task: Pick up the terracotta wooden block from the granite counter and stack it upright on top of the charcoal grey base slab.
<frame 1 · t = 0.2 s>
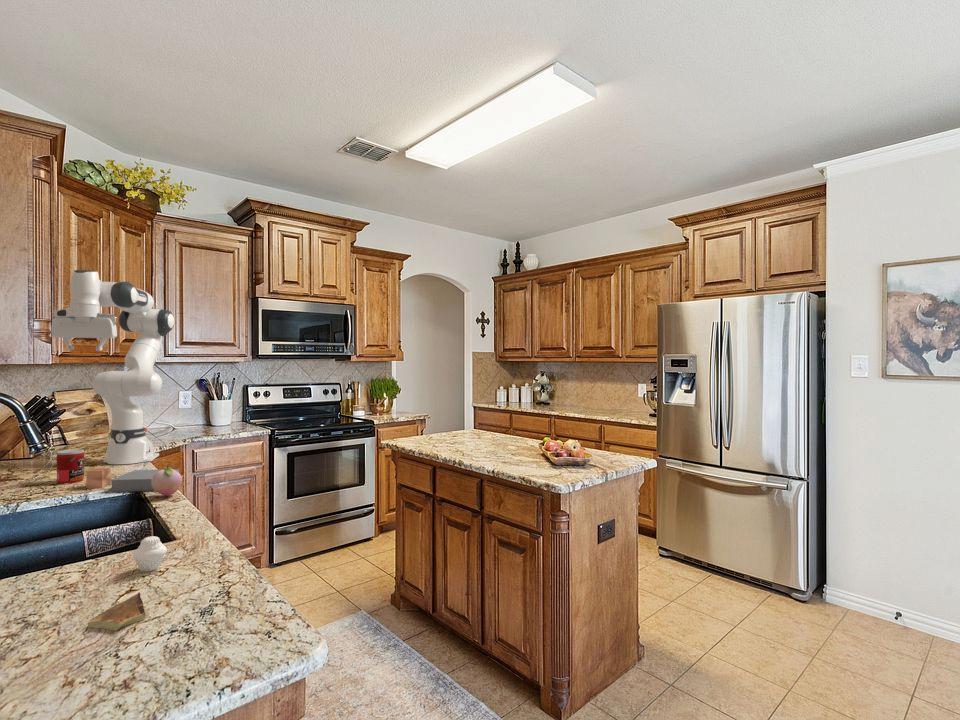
hand: (84, 350, 189), 47 cm above the counter, tool pointing down, fingers open, 8 cm apart
muffin: (150, 569, 110), on the counter
base slab: (147, 485, 180), on the counter
decorative fruit: (166, 497, 166), on the counter
shard: (116, 620, 90), on the counter
terracotta block: (98, 486, 178), on the counter
canned food: (70, 481, 185), on the counter
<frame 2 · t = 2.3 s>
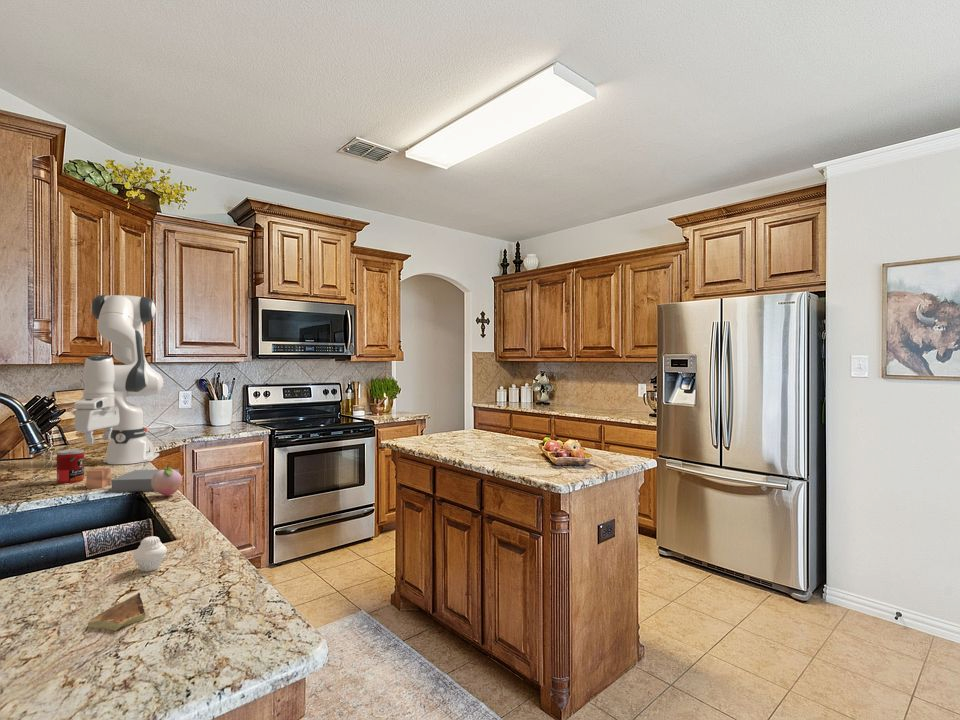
hand: (98, 441, 178), 16 cm above the counter, tool pointing down, fingers open, 8 cm apart
nothing on the counter moved.
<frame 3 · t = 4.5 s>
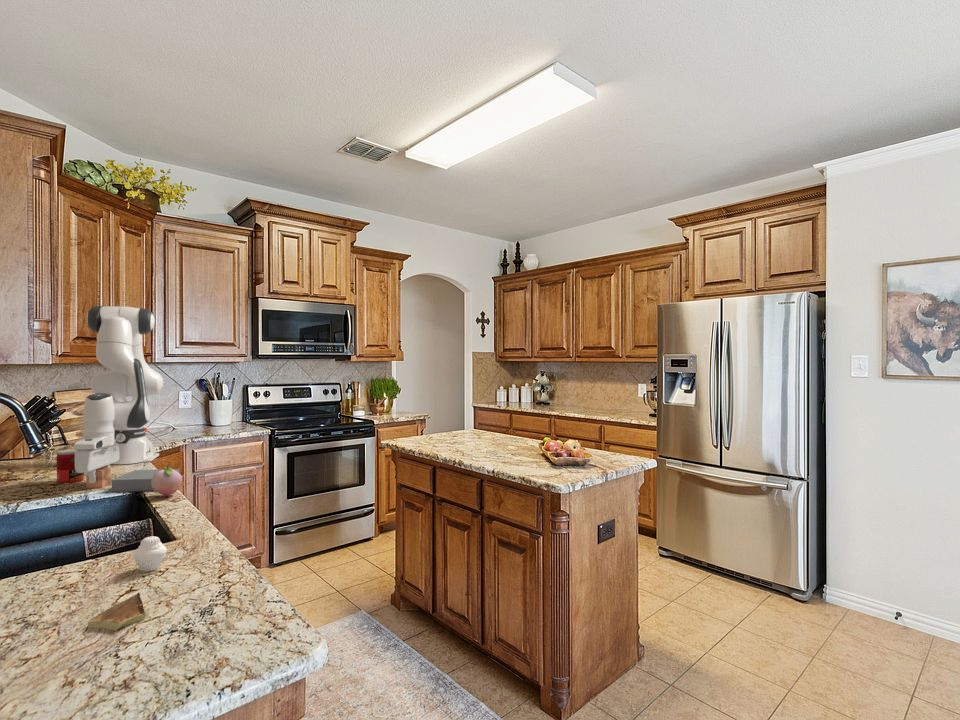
hand: (98, 480, 178), 2 cm above the counter, tool pointing down, fingers closed on terracotta block, 5 cm apart
terracotta block: (98, 486, 178), on the counter, touching gripper
everything else where it was.
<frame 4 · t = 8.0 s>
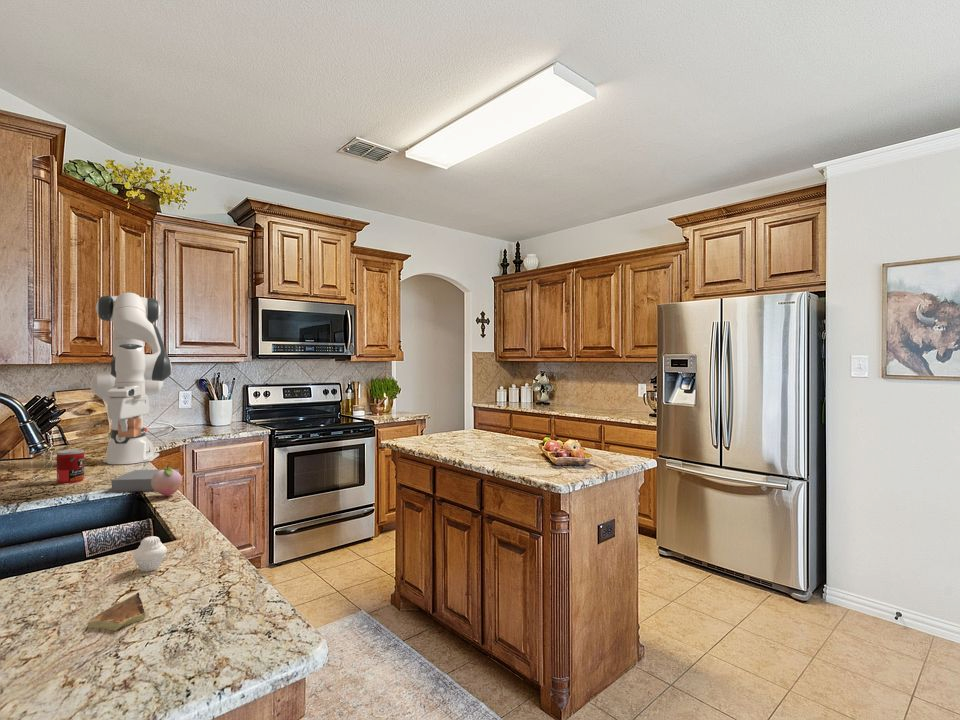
hand: (129, 430, 179), 20 cm above the counter, tool pointing down, fingers closed on terracotta block, 5 cm apart
terracotta block: (129, 436, 179), point 17 cm above the counter, touching gripper
everything else where it was.
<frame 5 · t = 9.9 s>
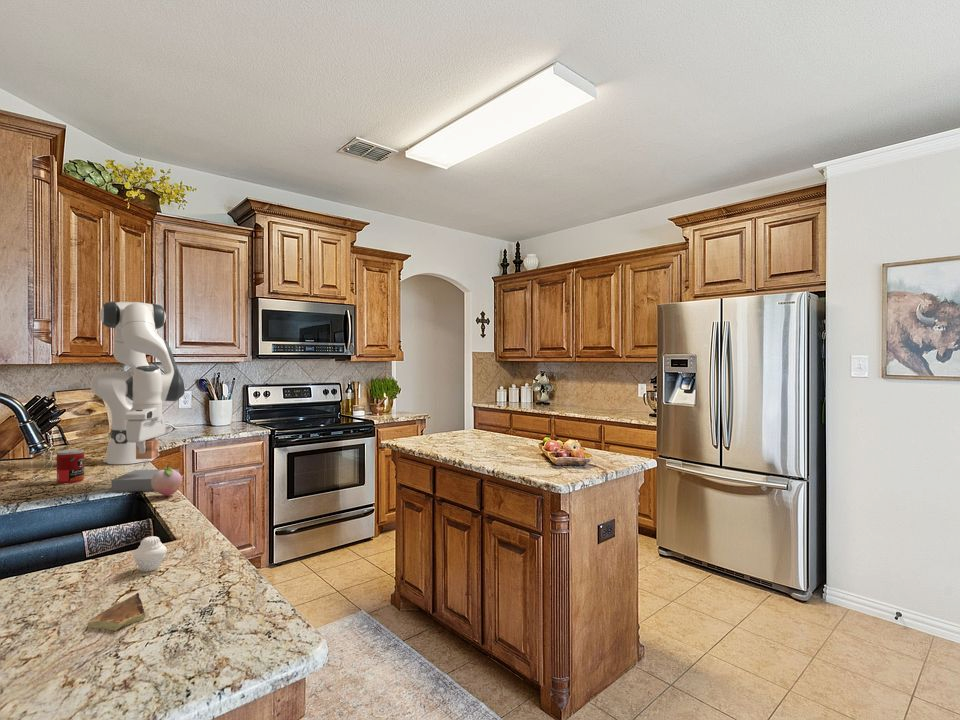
hand: (147, 451, 180), 12 cm above the counter, tool pointing down, fingers closed on terracotta block, 5 cm apart
terracotta block: (147, 457, 180), point 10 cm above the counter, touching gripper
everything else where it was.
when the fingers open (8 cm above the counter, at t = 11.5 s): terracotta block drops 1 cm, resting on base slab.
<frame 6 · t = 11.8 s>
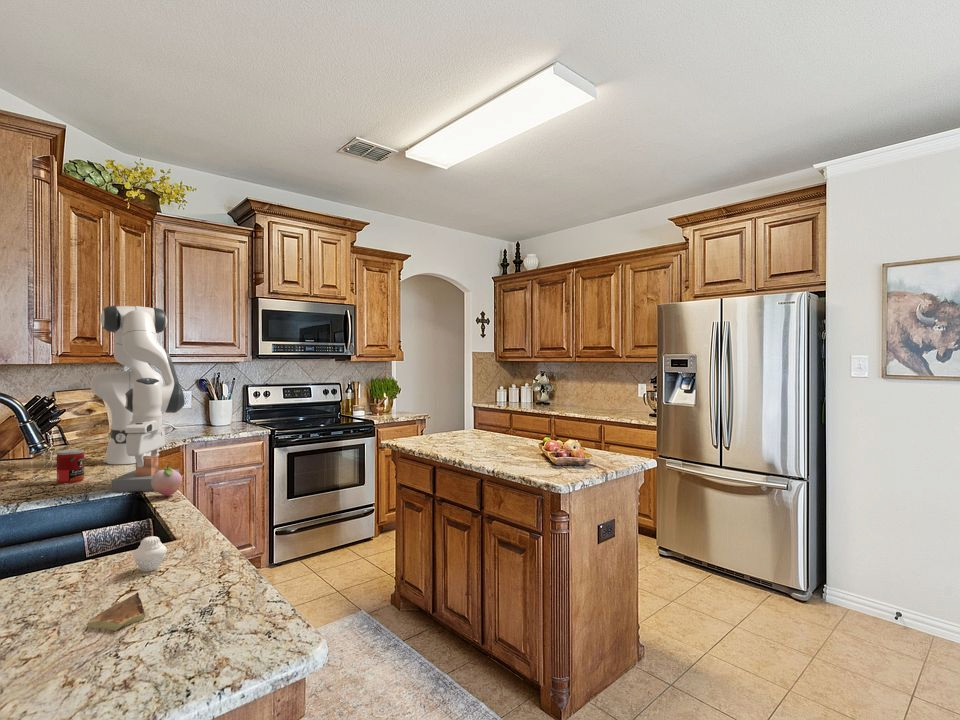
hand: (147, 464, 180), 8 cm above the counter, tool pointing down, fingers open, 7 cm apart
terracotta block: (147, 474, 180), point 4 cm above the counter, touching base slab
everything else where it was.
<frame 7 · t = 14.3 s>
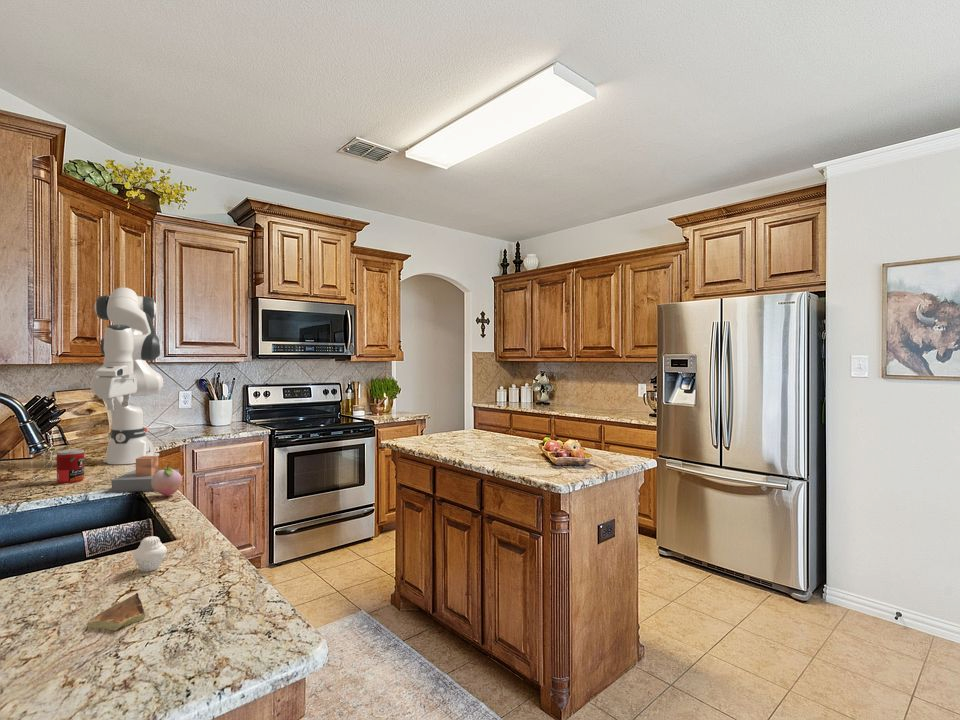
hand: (118, 408, 184), 27 cm above the counter, tool pointing down, fingers open, 8 cm apart
nothing on the counter moved.
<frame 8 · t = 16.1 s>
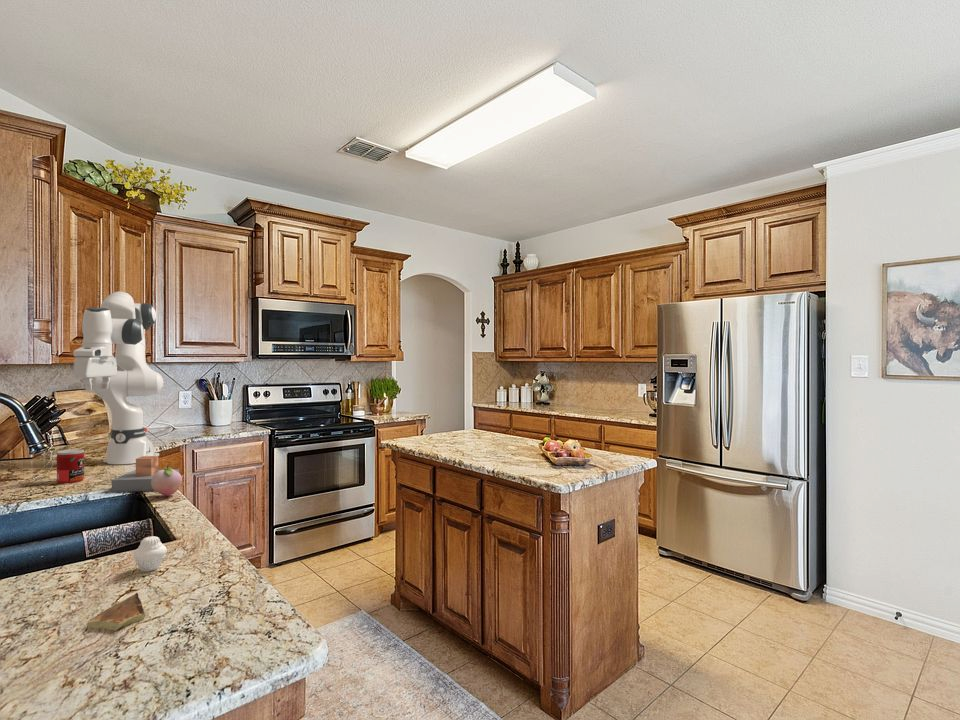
hand: (97, 389, 187), 33 cm above the counter, tool pointing down, fingers open, 8 cm apart
nothing on the counter moved.
at the end: terracotta block touching base slab; terracotta block 0.1 cm from the base slab (horizontally); terracotta block tilted 0° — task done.
